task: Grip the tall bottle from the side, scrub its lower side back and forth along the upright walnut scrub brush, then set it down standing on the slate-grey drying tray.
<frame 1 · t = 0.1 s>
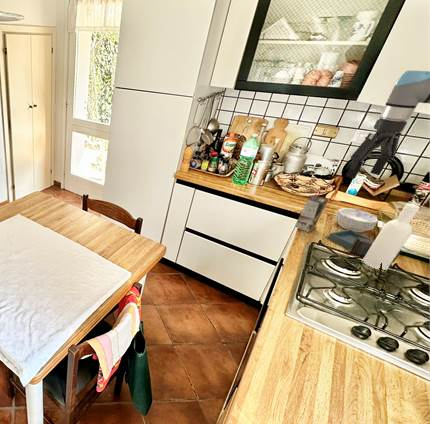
hand: (362, 175, 117), 39 cm above the kitchen counter, tool pointing down, fingers open, 13 cm apart
paper bowls: (350, 228, 158), on the kitchen counter
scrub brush: (368, 259, 134), on the kitchen counter
bottle: (371, 268, 129), on the kitchen counter
drying tray: (352, 243, 145), on the kitchen counter
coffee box: (304, 227, 158), on the kitchen counter
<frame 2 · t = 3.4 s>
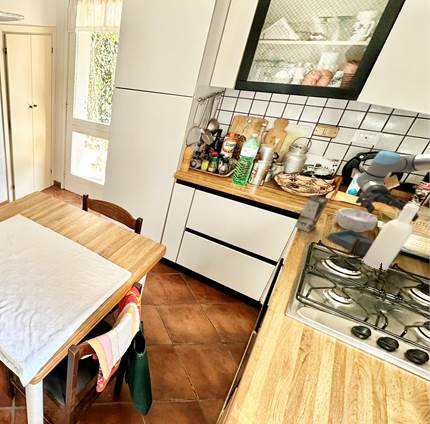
hand: (393, 214, 125), 22 cm above the kitchen counter, tool horizontal, fingers open, 13 cm apart
nothing on the kitchen counter moved.
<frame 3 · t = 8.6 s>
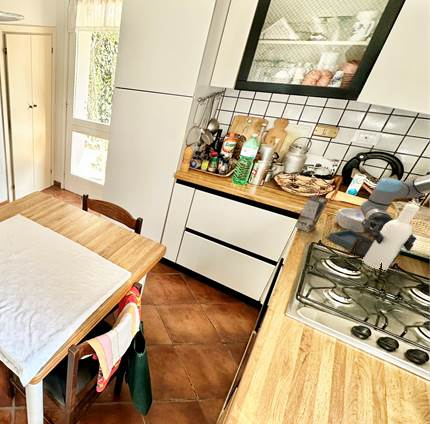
hand: (395, 244, 118), 15 cm above the kitchen counter, tool horizontal, fingers closed on bottle, 8 cm apart
bottle: (371, 268, 129), on the kitchen counter, touching gripper
everything else where it was.
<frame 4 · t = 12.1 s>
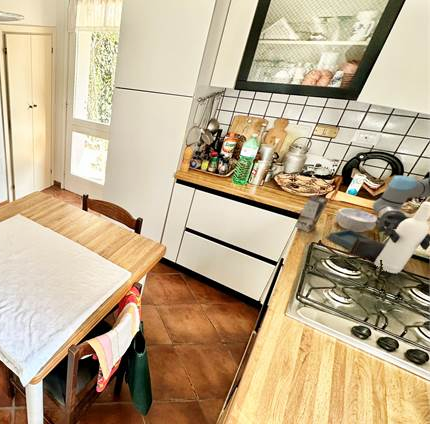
hand: (411, 243, 116), 17 cm above the kitchen counter, tool horizontal, fingers closed on bottle, 8 cm apart
bottle: (386, 267, 127), point 2 cm above the kitchen counter, touching gripper
everything else where it was.
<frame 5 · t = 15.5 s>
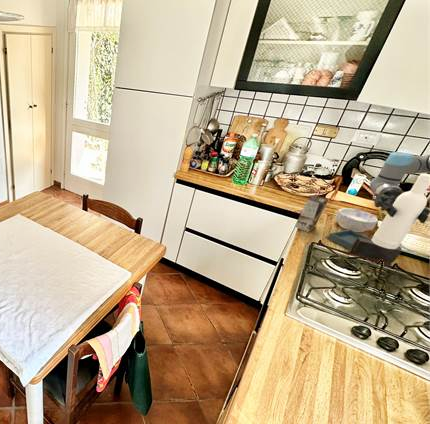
hand: (409, 216, 113), 27 cm above the kitchen counter, tool horizontal, fingers closed on bottle, 8 cm apart
bottle: (383, 244, 124), point 12 cm above the kitchen counter, touching gripper
everything else where it was.
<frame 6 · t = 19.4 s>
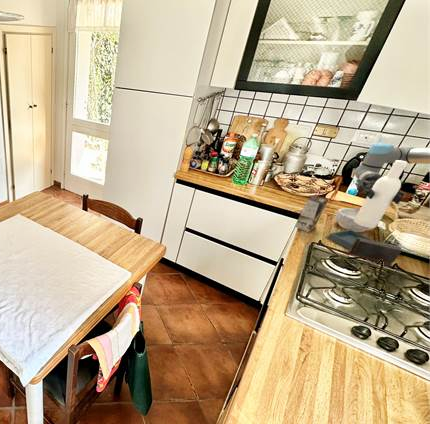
hand: (385, 198, 129), 26 cm above the kitchen counter, tool horizontal, fingers closed on bottle, 8 cm apart
bottle: (364, 224, 140), point 11 cm above the kitchen counter, touching gripper
everything else where it was.
when the fingers open (16 cm above the kitchen counter, at t = 22.5 s): bottle stays where it is, resting on drying tray.
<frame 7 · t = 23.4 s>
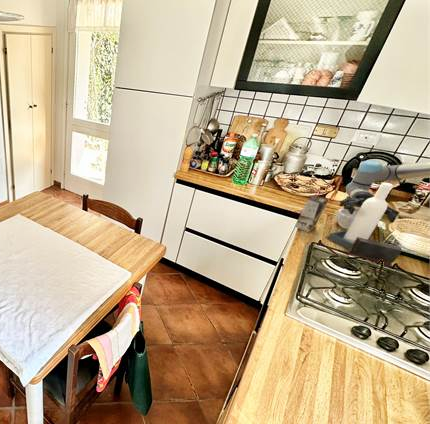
hand: (372, 215, 135), 17 cm above the kitchen counter, tool horizontal, fingers open, 13 cm apart
bottle: (353, 242, 145), point 1 cm above the kitchen counter, touching drying tray
everything else where it was.
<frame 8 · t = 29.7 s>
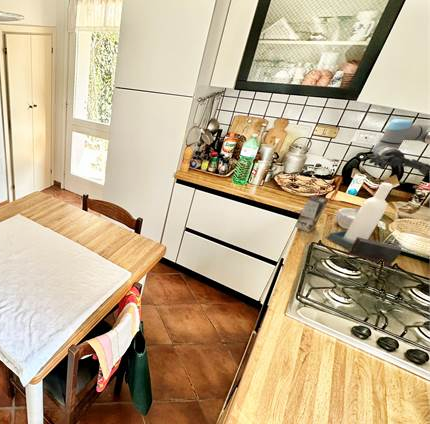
hand: (405, 169, 132), 36 cm above the kitchen counter, tool horizontal, fingers open, 13 cm apart
nothing on the kitchen counter moved.
at the end: bottle 0.1 cm off-centre in the drying tray, point 0.8 cm above the drying tray's base; bottle tilted 0°; the gripper is holding nothing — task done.
